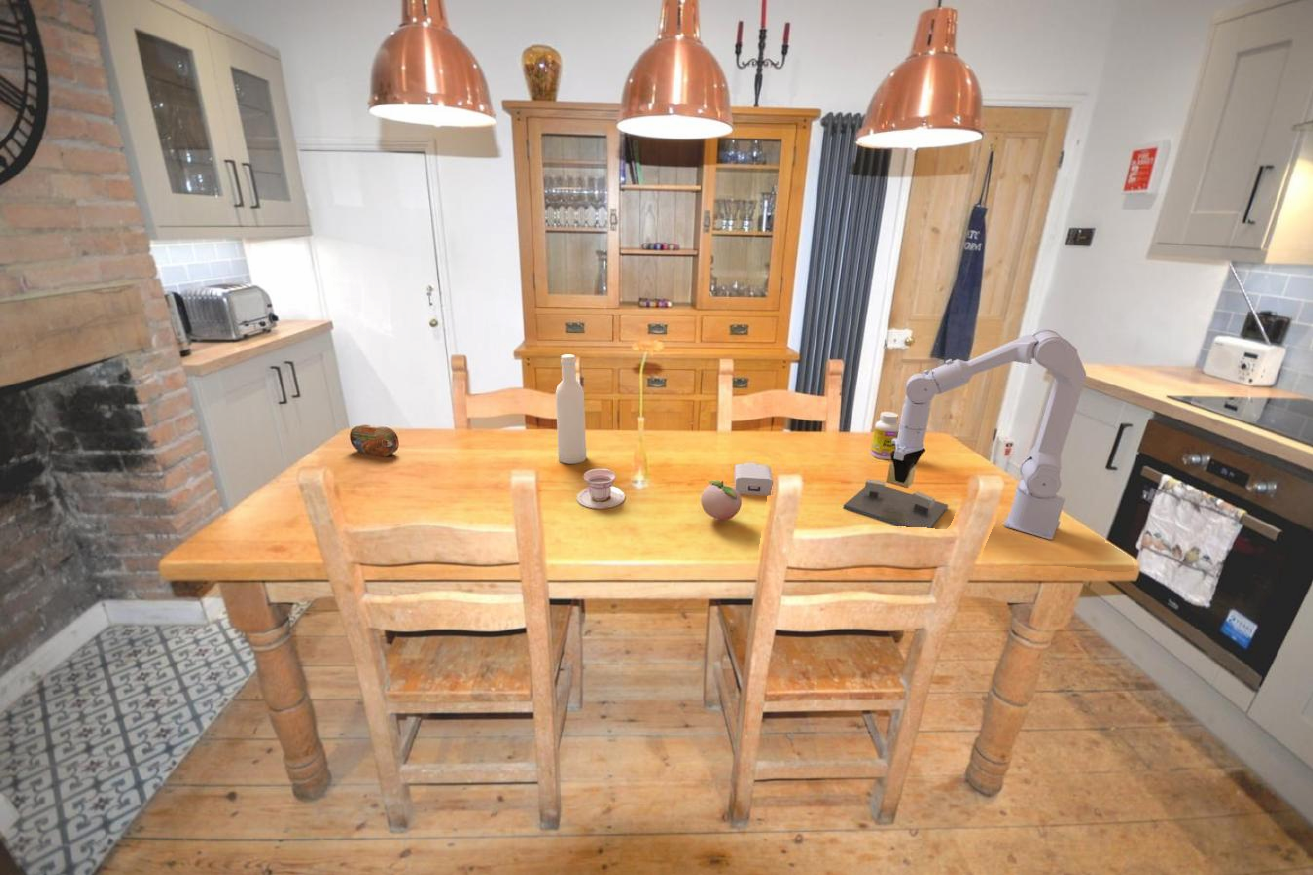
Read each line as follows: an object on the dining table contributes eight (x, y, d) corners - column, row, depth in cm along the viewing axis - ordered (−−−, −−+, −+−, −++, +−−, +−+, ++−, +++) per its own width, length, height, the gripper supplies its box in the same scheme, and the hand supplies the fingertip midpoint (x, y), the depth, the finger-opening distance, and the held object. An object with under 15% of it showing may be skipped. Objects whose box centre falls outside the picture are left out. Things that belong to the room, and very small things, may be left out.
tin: (351, 452, 165) (346, 424, 162) (360, 448, 168) (355, 421, 165) (395, 458, 161) (390, 430, 158) (402, 454, 164) (398, 427, 161)
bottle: (581, 465, 158) (578, 359, 148) (554, 463, 160) (549, 358, 149) (589, 454, 166) (586, 353, 155) (563, 452, 167) (558, 351, 156)
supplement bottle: (879, 460, 164) (886, 418, 160) (865, 452, 170) (872, 411, 166) (899, 458, 166) (906, 417, 162) (885, 450, 172) (892, 410, 167)
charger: (767, 472, 157) (772, 496, 143) (733, 470, 157) (735, 494, 143) (768, 456, 155) (773, 479, 141) (734, 454, 156) (736, 477, 142)
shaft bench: (947, 508, 137) (951, 492, 136) (926, 535, 125) (929, 518, 124) (869, 485, 149) (872, 470, 147) (843, 508, 137) (845, 492, 135)
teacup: (571, 491, 144) (570, 469, 141) (617, 484, 147) (617, 463, 145) (582, 513, 133) (581, 489, 131) (631, 505, 137) (631, 482, 135)
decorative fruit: (691, 519, 130) (693, 480, 127) (714, 508, 136) (717, 470, 132) (723, 535, 124) (726, 494, 121) (746, 522, 130) (749, 482, 126)
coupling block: (912, 483, 138) (916, 464, 136) (907, 488, 135) (911, 469, 134) (892, 477, 141) (895, 459, 139) (886, 482, 138) (889, 463, 137)
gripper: (905, 414, 140) (896, 464, 145) (884, 429, 130) (875, 483, 135) (935, 421, 136) (925, 472, 141) (916, 436, 126) (906, 492, 130)
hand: (902, 478), depth 137 cm, fingers closed on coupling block, 4 cm apart
